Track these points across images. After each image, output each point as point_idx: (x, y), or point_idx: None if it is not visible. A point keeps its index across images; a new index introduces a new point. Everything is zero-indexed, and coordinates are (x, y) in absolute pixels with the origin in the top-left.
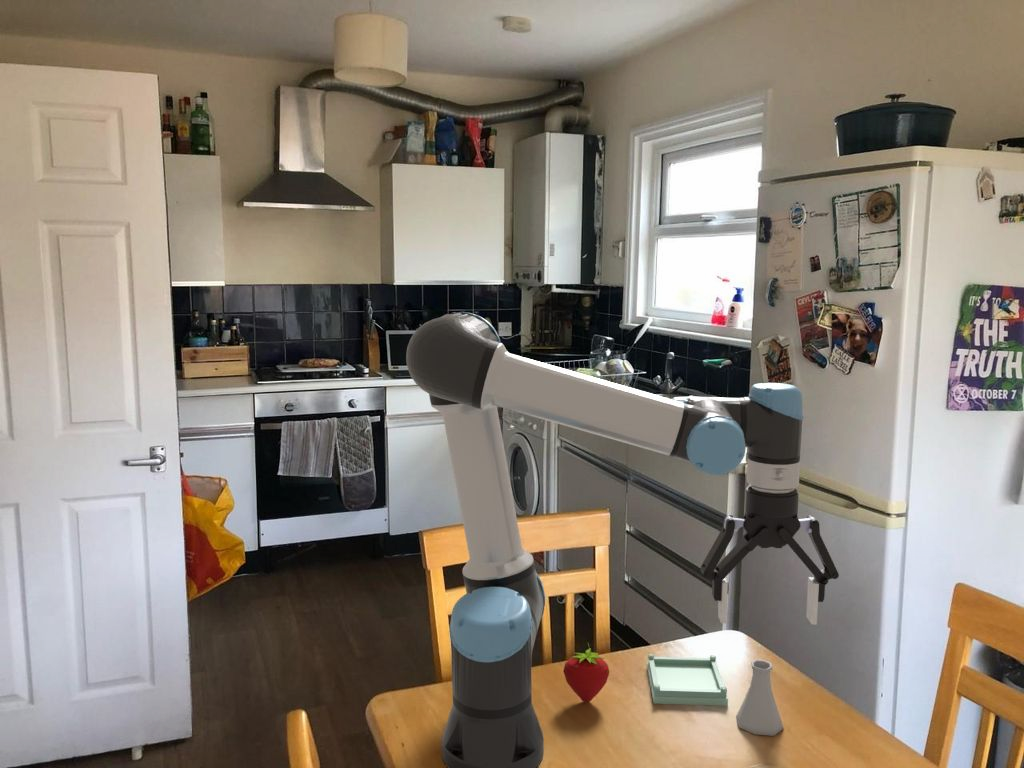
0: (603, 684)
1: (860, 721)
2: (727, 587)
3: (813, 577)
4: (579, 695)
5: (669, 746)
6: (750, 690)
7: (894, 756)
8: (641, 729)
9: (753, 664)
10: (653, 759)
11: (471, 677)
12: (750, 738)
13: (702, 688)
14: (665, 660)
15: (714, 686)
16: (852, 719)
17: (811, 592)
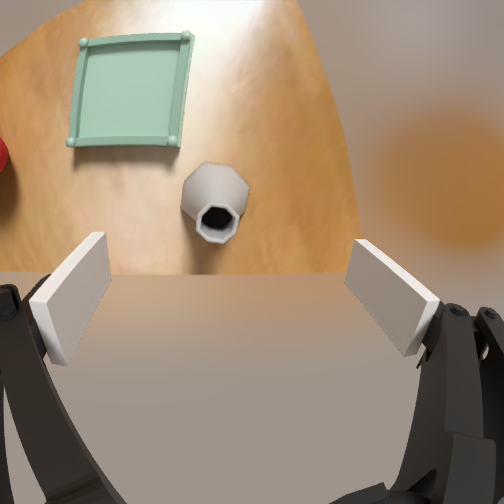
0: (2, 168)
1: (354, 196)
2: (73, 353)
3: (438, 303)
4: None
5: None
6: (196, 214)
7: None
8: (58, 213)
9: (200, 222)
10: None
11: None
12: (191, 231)
13: (146, 116)
14: (105, 44)
15: (167, 108)
16: (347, 190)
17: (390, 318)
